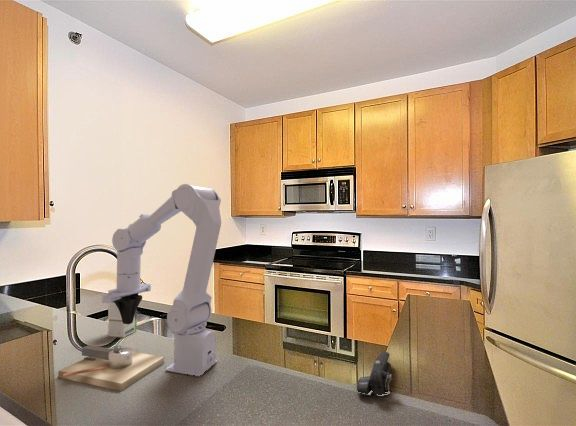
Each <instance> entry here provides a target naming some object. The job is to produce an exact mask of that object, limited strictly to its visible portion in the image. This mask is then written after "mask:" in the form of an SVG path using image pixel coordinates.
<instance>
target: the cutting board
mask: <svg viewBox="0 0 576 426" xmlns="http://www.w3.org/2000/svg"><path fill="white" fill-rule="evenodd" d="M109 348H110V347H109ZM110 349H113V348H112V347H111V348H110ZM164 364H165V356H160V355H156V354H155V355H153V354H149V353H142V352H135V351H133V362H132V364H130V365H129V366H127V367H124V368H120V369H111V368H109V367H108V360H105V359H100V358H94V357H88V356H84V357H83V359H81V360H78V361H77V362H75V363H73V364H72V363H71V364H70V365H67V366H66V367H63V368H61V369H58V376H57V377H58V378H60V379H63V380H68V381H74V382H77V383H82V384H83V383H84V384H87V385H93V386H97V387H102V388H106V389H111V390H117V391H121V392H122V391H123V390H125V389H127V388H128V387H130V386H131V385H133V384H134V383H136V382H137V381H139V380H140V379H142V378H143V377H145V376H146V375H148V374H149V373H151V372H153V371H154V370H156V369H157V368H159V367H160V366H162V365H164Z"/></svg>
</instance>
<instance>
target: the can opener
mask: <svg viewBox="0 0 576 426" xmlns="http://www.w3.org/2000/svg"><path fill="white" fill-rule="evenodd" d="M389 358H390V353H389V352H387V351H382V352H381V353H380V354H379V355H378V356H377V357H376V359H375V361H374V363H373V366H372V369H371V372H370V374H369V376H362V377H360V378H358V381H357V384H356V391H358V392H361V393H365V394H368V393H369V392H370V391H371V390H372V391H373V393H372V394H374V393H375V394H378V395H382V394H387V393H385V392H388V391H389V389H390V382H391V380H392V381H393V378H392V373H391V370H392V365H391V363H390V361H389ZM388 361H389V362H388ZM358 392H357V393H358ZM375 394H374V395H375Z"/></svg>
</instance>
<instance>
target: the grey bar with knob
mask: <svg viewBox="0 0 576 426" xmlns="http://www.w3.org/2000/svg"><path fill="white" fill-rule="evenodd" d="M133 352H134V350H133V348H132V347H122V345H116V346H114V347H113V348H112V349H110V347H103V346H99V345H91V344H88V345H86V346H83V347H82V348H81V356H83V357H94V358H100V359H105V360H108V367H109V368H111V369H120V368H124V367H127V366H129V365H130V364H132V362H133Z"/></svg>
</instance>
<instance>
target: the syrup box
mask: <svg viewBox="0 0 576 426" xmlns="http://www.w3.org/2000/svg"><path fill="white" fill-rule="evenodd" d="M115 289H116V287H115V288H111V289H108V292H107V294H108V293H110V292H112V291H114V290H115ZM107 305H108V307H107V308H108V309H107V311H108V312H107V313H108V315H107V316H108V317H107V329H108V331H107V334H108V337H112V338H123V339H124V338H126V337H127V336H129V335H131V334H133V333H135V332H137V330H138V329H137V324H138V323H137V320H138V319H137V316H138V315H137V310H136V312H135V316H134V319H133V323H131V324H123V322H122V318H121V314H120V312H119V309H118V307H117V306H116V304H115V303H114V301H112V302H111V303H107Z"/></svg>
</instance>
